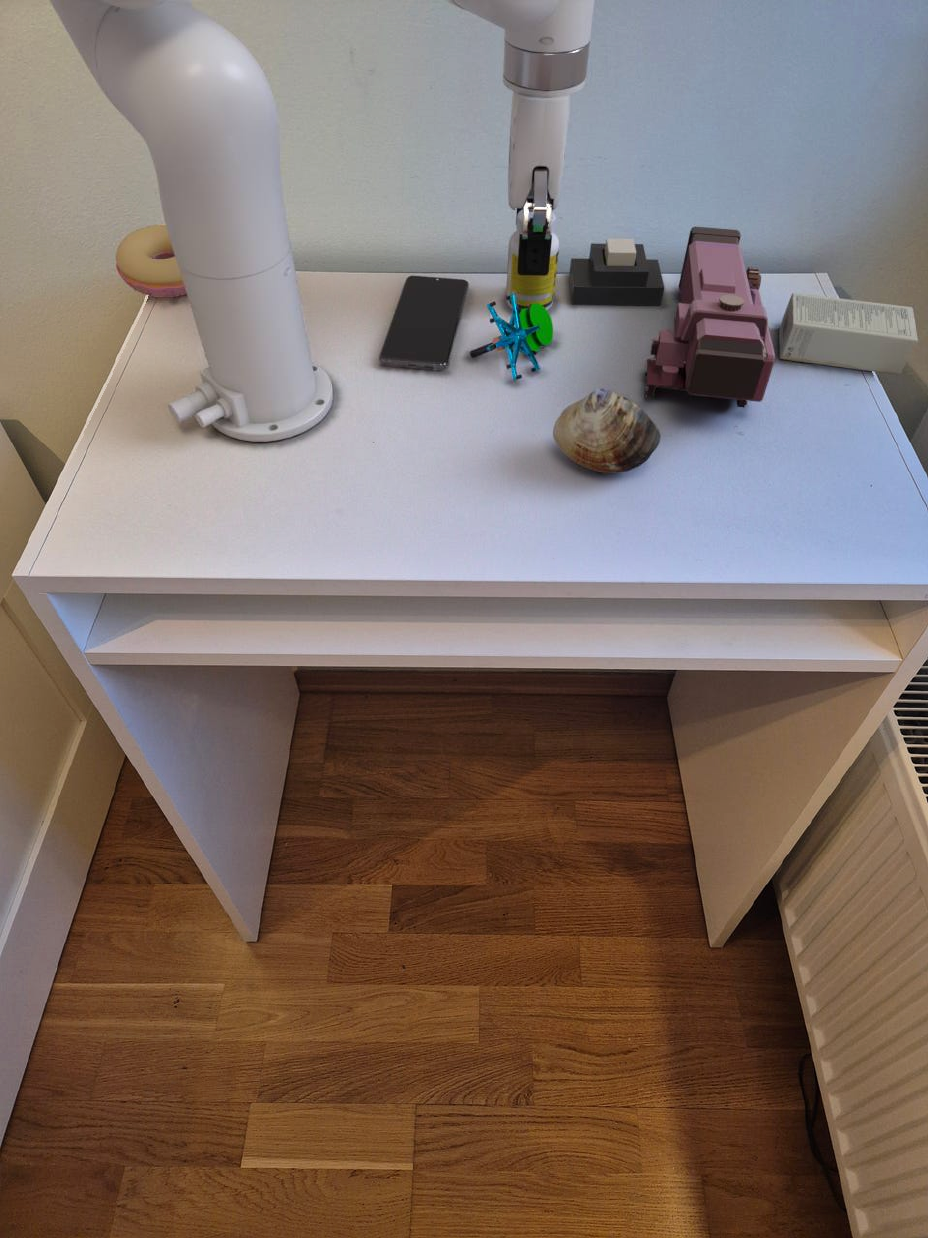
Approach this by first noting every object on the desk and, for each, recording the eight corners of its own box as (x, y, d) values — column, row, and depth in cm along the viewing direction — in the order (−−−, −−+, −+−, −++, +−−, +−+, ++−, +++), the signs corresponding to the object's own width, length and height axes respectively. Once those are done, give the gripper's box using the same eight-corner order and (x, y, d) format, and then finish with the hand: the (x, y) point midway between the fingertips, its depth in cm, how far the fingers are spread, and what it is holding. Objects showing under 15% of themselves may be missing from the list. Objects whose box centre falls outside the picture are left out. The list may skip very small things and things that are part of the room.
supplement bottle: (560, 312, 88) (570, 224, 81) (514, 319, 88) (519, 231, 80) (544, 286, 92) (551, 199, 84) (499, 293, 91) (502, 206, 83)
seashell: (541, 473, 73) (549, 401, 66) (559, 434, 76) (567, 363, 69) (643, 498, 71) (661, 427, 64) (657, 458, 74) (675, 386, 67)
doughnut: (94, 233, 89) (106, 268, 93) (135, 283, 84) (145, 317, 88) (185, 207, 93) (193, 241, 97) (228, 253, 89) (235, 287, 92)
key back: (631, 253, 89) (633, 238, 88) (633, 267, 87) (636, 252, 86) (604, 253, 89) (606, 238, 88) (606, 267, 87) (608, 252, 86)
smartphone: (377, 359, 81) (407, 273, 91) (378, 367, 82) (407, 282, 92) (447, 365, 81) (470, 278, 90) (447, 374, 82) (470, 287, 91)
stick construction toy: (521, 381, 77) (492, 300, 75) (466, 400, 81) (436, 325, 79) (572, 351, 86) (547, 279, 83) (519, 371, 90) (494, 302, 88)
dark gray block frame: (654, 277, 93) (661, 243, 90) (660, 305, 89) (668, 271, 86) (569, 276, 93) (572, 242, 90) (571, 304, 89) (575, 270, 86)
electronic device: (739, 315, 92) (764, 224, 85) (763, 441, 73) (798, 337, 66) (644, 306, 93) (661, 215, 86) (643, 428, 74) (665, 324, 67)
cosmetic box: (777, 359, 83) (898, 379, 81) (792, 321, 79) (919, 341, 78) (778, 325, 87) (894, 343, 85) (793, 287, 83) (914, 305, 81)
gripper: (503, 28, 76) (496, 209, 90) (503, 100, 66) (496, 293, 79) (581, 30, 76) (562, 210, 90) (594, 102, 66) (571, 294, 79)
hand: (531, 249), depth 84 cm, fingers open, 9 cm apart
